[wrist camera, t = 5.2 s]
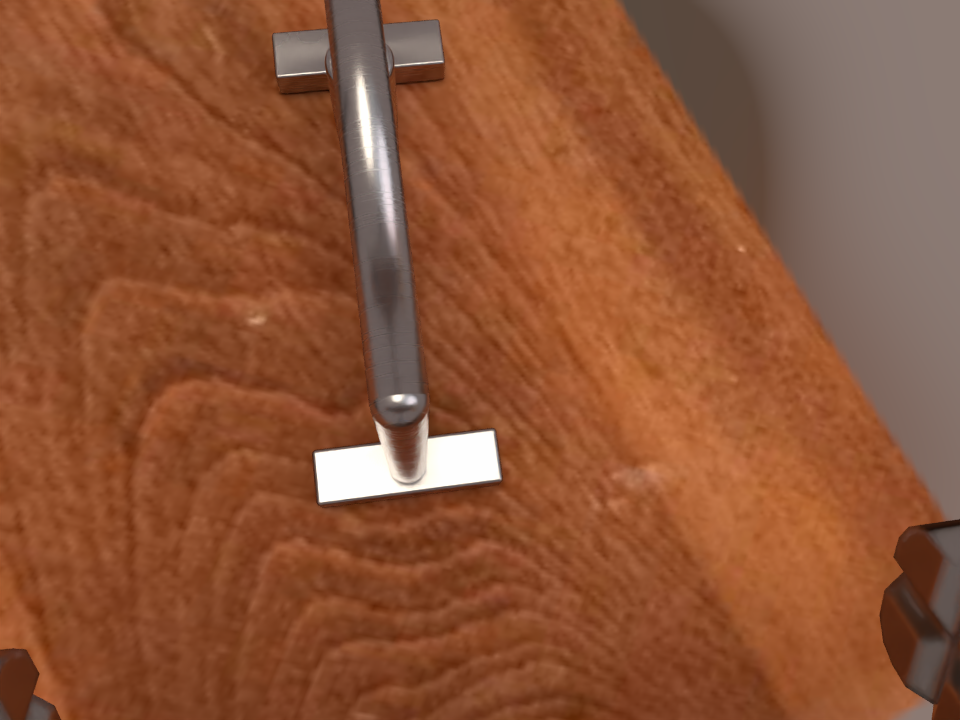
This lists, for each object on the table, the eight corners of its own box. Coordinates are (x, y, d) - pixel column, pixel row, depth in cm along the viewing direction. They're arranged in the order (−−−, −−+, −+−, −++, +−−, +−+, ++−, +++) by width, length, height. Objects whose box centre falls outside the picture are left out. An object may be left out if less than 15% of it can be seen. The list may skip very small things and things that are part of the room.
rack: (500, 485, 21) (559, 421, 12) (320, 508, 20) (243, 461, 11) (438, 37, 23) (449, -294, 14) (276, 50, 23) (184, -280, 14)
